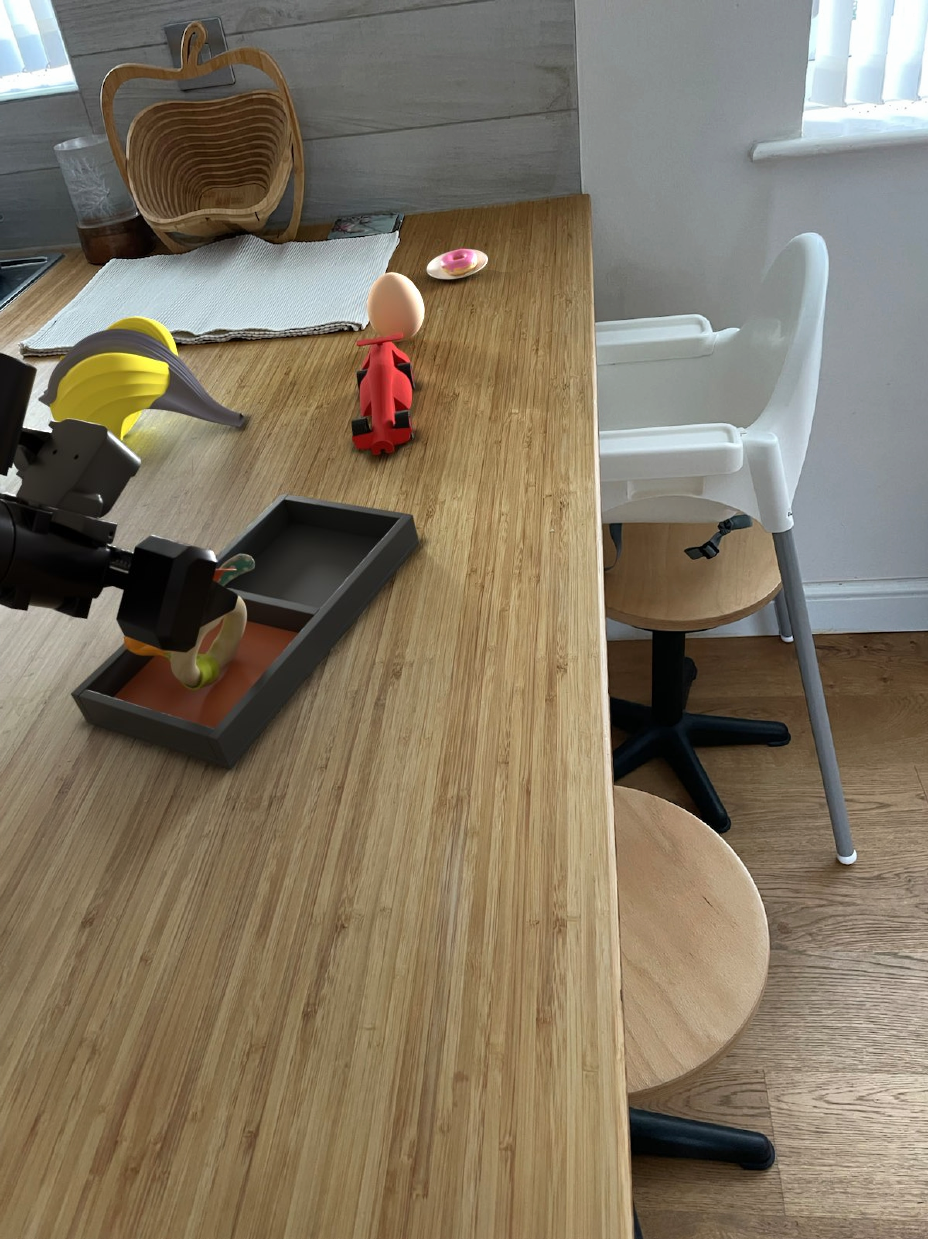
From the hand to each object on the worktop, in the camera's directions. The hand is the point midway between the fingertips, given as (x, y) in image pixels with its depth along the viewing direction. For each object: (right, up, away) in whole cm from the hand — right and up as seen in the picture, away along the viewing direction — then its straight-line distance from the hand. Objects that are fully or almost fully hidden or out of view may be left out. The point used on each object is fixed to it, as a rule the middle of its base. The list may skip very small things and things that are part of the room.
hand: (187, 586), depth 67 cm
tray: (+4, -3, +9) cm, 10 cm away
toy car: (+11, +19, +33) cm, 40 cm away
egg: (+12, +31, +48) cm, 58 cm away
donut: (+18, +45, +63) cm, 80 cm away
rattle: (-1, -5, +5) cm, 7 cm away
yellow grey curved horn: (-15, +18, +38) cm, 45 cm away
